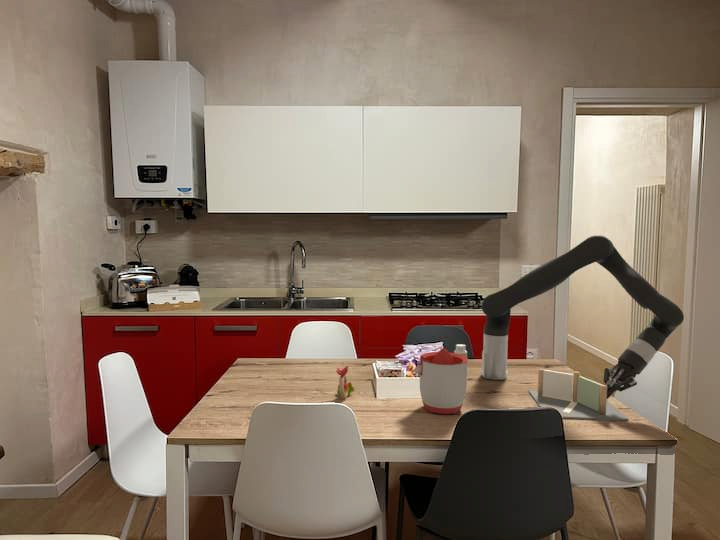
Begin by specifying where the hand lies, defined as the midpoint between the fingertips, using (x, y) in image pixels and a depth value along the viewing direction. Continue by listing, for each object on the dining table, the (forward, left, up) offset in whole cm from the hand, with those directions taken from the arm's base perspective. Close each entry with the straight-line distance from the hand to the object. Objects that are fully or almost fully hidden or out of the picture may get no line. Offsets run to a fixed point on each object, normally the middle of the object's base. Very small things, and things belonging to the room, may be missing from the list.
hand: (603, 397), depth 165 cm
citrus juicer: (-51, -1, -6) cm, 52 cm away
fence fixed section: (-10, +12, -5) cm, 17 cm away
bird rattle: (-83, +7, -6) cm, 84 cm away
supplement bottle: (-39, +49, -6) cm, 63 cm away
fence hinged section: (-3, +3, -5) cm, 6 cm away
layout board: (-6, +7, -5) cm, 11 cm away
